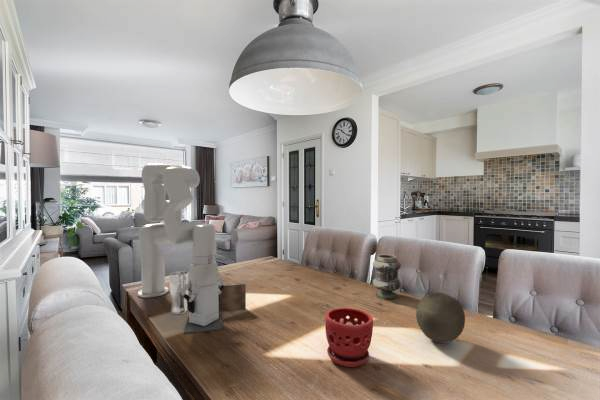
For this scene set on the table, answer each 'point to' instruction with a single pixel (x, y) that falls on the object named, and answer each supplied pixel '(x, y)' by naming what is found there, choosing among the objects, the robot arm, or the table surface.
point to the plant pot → (348, 336)
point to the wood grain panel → (233, 297)
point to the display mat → (199, 328)
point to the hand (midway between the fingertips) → (204, 307)
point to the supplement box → (205, 306)
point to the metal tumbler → (175, 284)
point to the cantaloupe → (440, 317)
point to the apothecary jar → (386, 276)
